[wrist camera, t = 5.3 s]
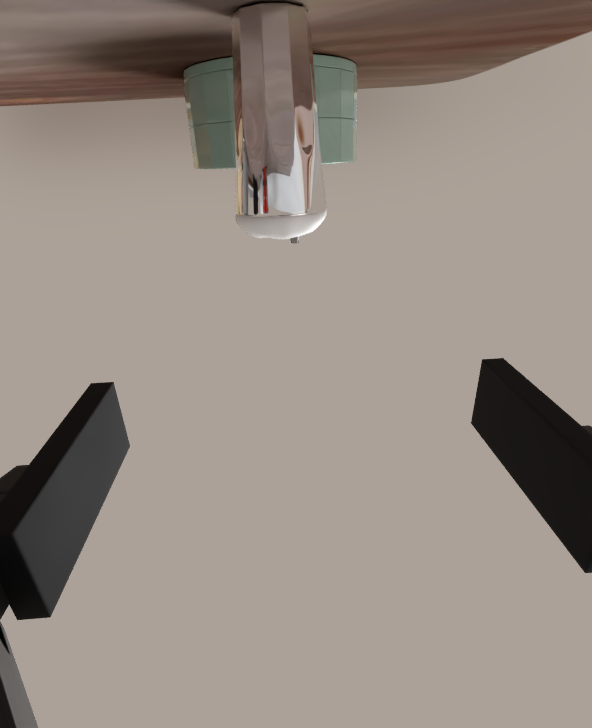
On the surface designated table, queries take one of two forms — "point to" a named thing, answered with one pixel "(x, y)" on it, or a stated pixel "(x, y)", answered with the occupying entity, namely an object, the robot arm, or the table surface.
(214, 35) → the table surface
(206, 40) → the table surface
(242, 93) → the milkshake
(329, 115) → the pot
